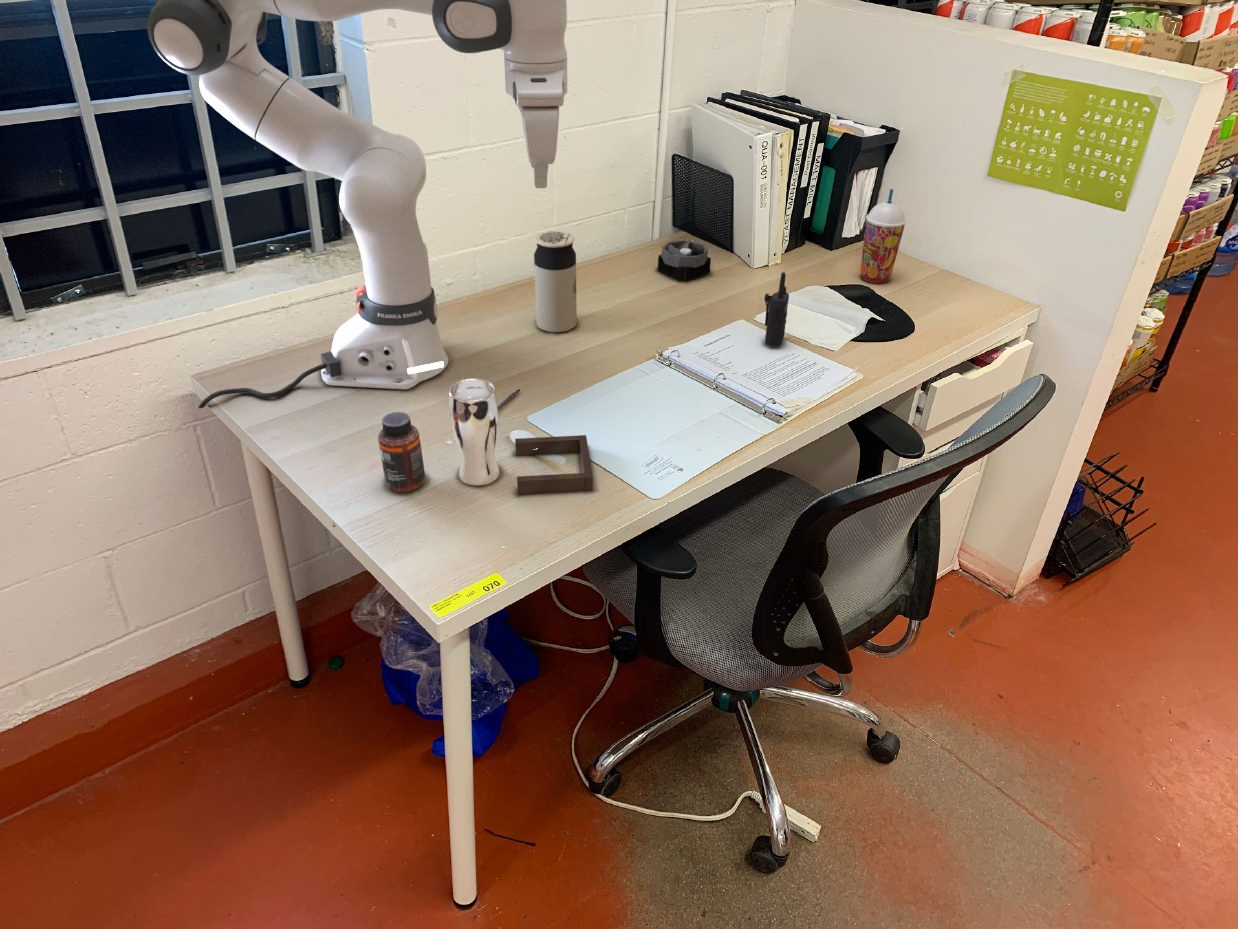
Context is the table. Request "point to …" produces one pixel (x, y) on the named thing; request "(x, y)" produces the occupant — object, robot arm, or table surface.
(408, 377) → the robot arm
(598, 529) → the table surface
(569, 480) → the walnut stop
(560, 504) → the table surface
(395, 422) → the supplement bottle
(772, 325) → the two-way radio
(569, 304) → the travel mug
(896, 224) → the smoothie
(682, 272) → the cpu cooler
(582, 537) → the table surface
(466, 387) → the beer glass
